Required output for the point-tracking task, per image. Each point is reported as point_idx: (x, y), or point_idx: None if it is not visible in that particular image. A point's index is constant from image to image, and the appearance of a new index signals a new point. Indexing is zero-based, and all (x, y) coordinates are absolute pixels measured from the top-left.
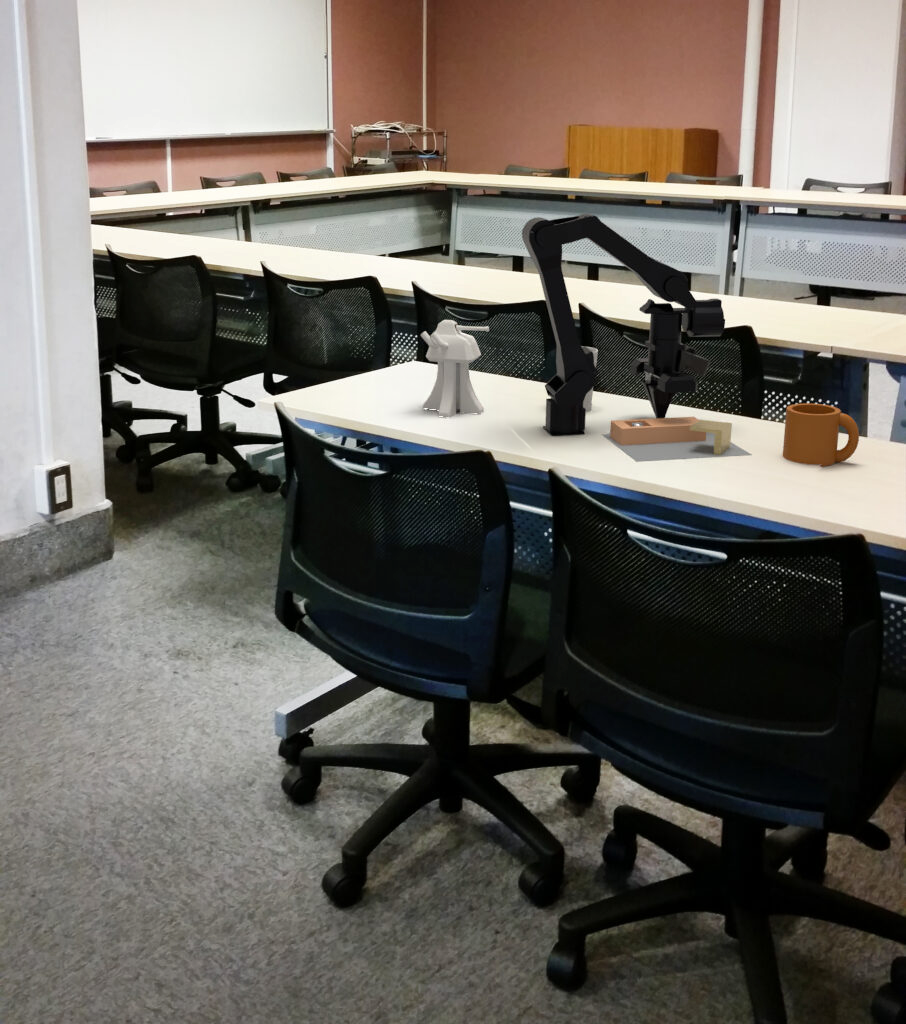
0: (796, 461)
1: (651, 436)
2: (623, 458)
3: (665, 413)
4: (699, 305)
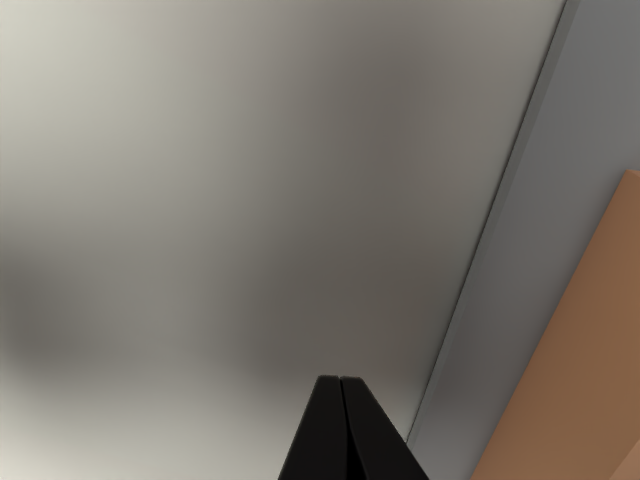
0: None
1: None
2: None
3: (395, 437)
4: None
